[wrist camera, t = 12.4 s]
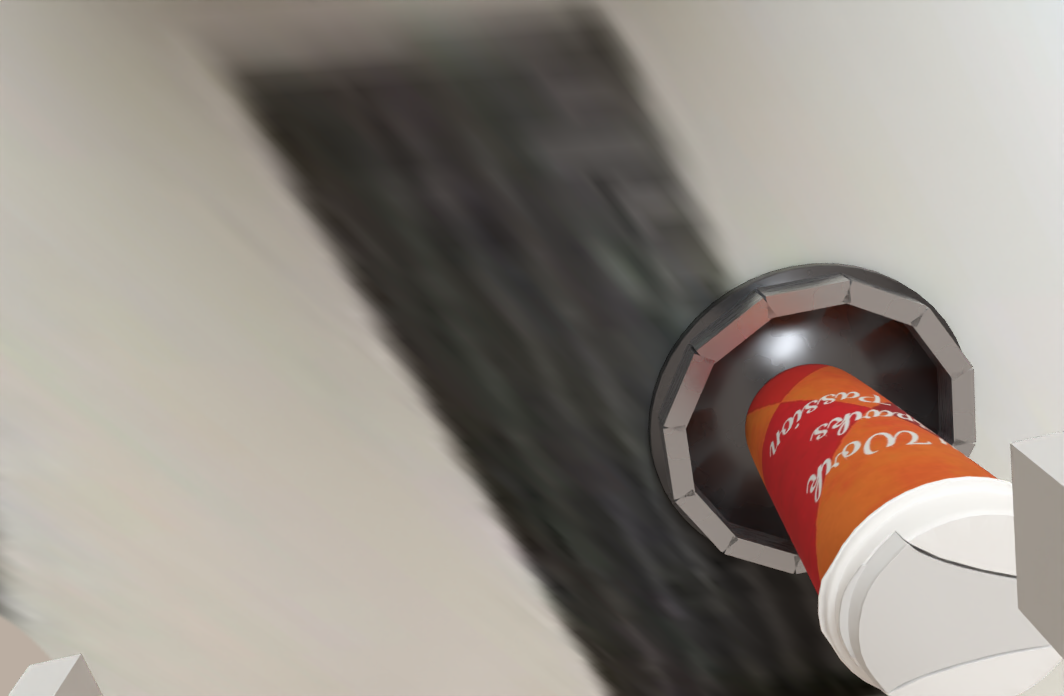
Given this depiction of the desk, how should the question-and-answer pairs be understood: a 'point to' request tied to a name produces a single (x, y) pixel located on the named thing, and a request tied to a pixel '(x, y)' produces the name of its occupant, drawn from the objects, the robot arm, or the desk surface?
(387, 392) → the desk surface
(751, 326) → the ring seat
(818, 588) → the coffee cup
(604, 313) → the desk surface
